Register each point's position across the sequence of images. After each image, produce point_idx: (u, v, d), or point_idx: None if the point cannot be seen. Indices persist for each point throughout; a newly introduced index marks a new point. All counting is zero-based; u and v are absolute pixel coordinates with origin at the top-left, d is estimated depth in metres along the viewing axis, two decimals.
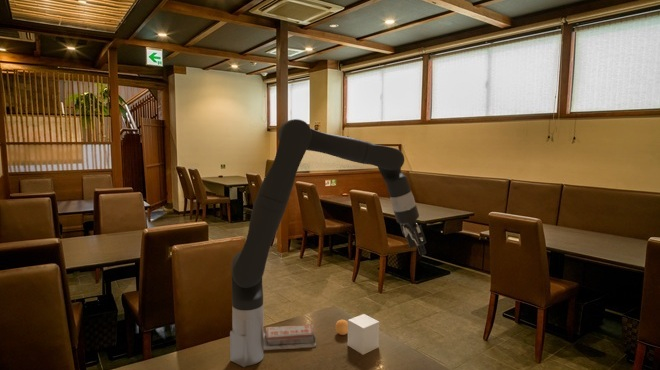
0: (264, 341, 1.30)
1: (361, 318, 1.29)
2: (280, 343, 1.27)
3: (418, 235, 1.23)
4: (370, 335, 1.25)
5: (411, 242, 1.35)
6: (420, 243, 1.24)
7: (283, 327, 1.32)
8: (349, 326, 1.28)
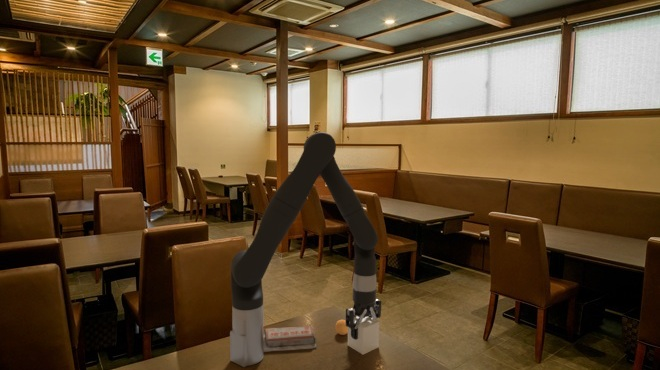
0: (264, 343, 1.29)
1: None
2: (280, 344, 1.27)
3: (347, 317, 1.24)
4: (370, 335, 1.25)
5: None
6: (346, 324, 1.24)
7: (283, 328, 1.32)
8: None
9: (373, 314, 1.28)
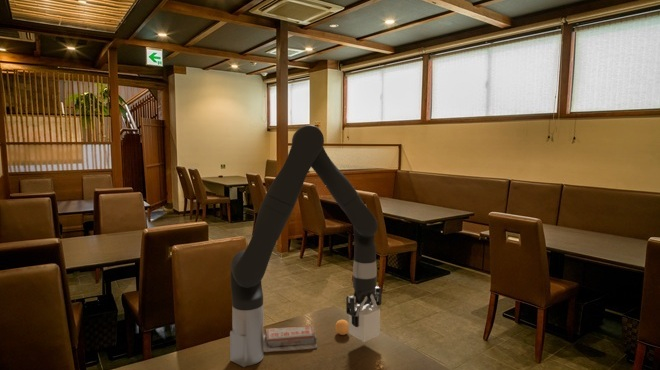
0: (264, 343, 1.29)
1: None
2: (281, 344, 1.26)
3: (347, 304, 1.23)
4: (371, 322, 1.25)
5: None
6: (347, 312, 1.24)
7: (283, 328, 1.31)
8: None
9: (374, 301, 1.28)
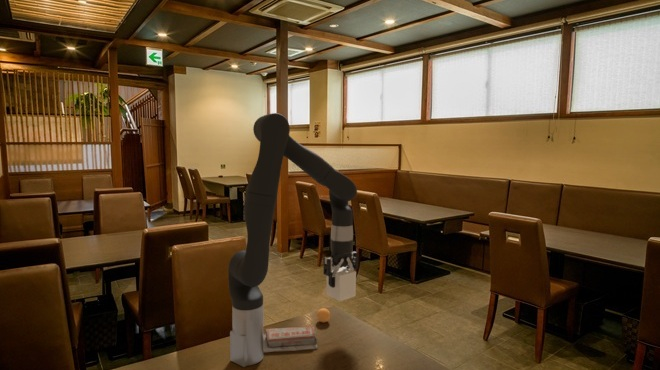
0: (265, 343, 1.28)
1: (339, 269, 1.36)
2: (281, 344, 1.26)
3: (324, 265, 1.31)
4: (347, 283, 1.32)
5: None
6: (324, 273, 1.31)
7: (284, 329, 1.31)
8: (327, 276, 1.35)
9: (350, 264, 1.35)
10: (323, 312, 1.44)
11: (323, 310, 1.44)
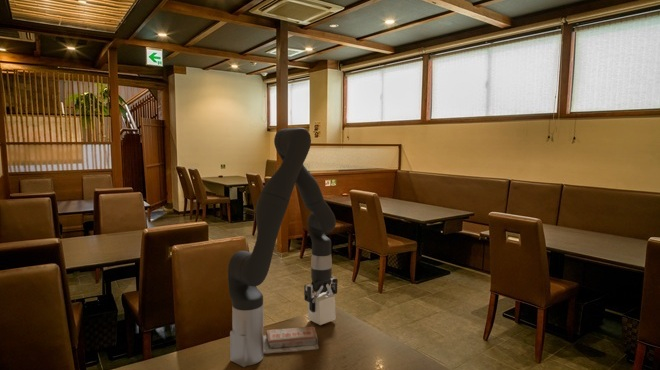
0: (266, 344, 1.28)
1: (319, 294, 1.47)
2: (282, 345, 1.26)
3: (305, 292, 1.41)
4: (326, 307, 1.42)
5: None
6: (305, 299, 1.41)
7: (284, 329, 1.31)
8: None
9: (329, 290, 1.45)
10: None
11: None
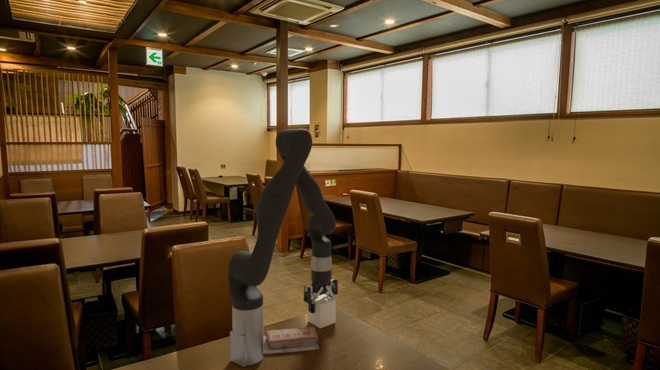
0: (266, 345, 1.27)
1: (320, 297, 1.46)
2: (283, 346, 1.25)
3: (304, 293, 1.41)
4: (327, 311, 1.42)
5: None
6: (304, 300, 1.41)
7: (285, 330, 1.30)
8: None
9: (330, 291, 1.45)
10: None
11: None
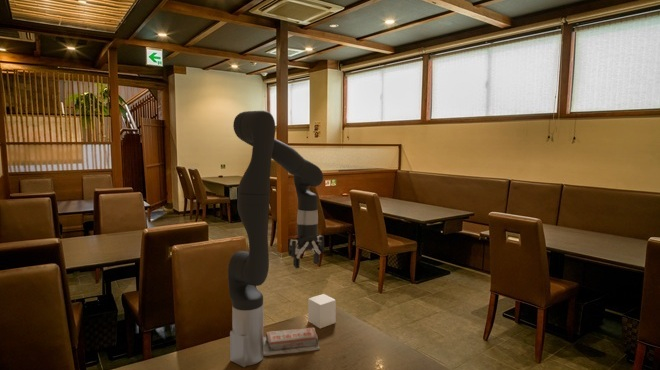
0: (266, 346, 1.27)
1: (320, 297, 1.46)
2: (283, 347, 1.25)
3: (289, 247, 1.38)
4: (327, 311, 1.42)
5: (315, 259, 1.45)
6: (289, 254, 1.39)
7: (284, 331, 1.30)
8: (309, 304, 1.45)
9: (316, 247, 1.43)
10: None
11: None
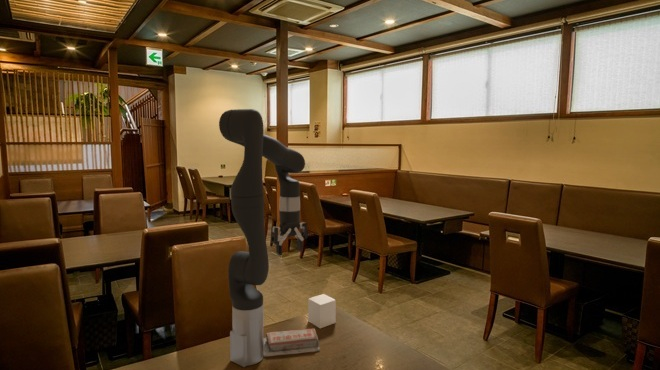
0: (266, 347, 1.26)
1: (320, 297, 1.46)
2: (283, 348, 1.24)
3: (272, 233, 1.38)
4: (327, 311, 1.42)
5: (298, 245, 1.45)
6: (271, 241, 1.38)
7: (285, 332, 1.29)
8: (309, 304, 1.45)
9: (299, 234, 1.43)
10: None
11: None
